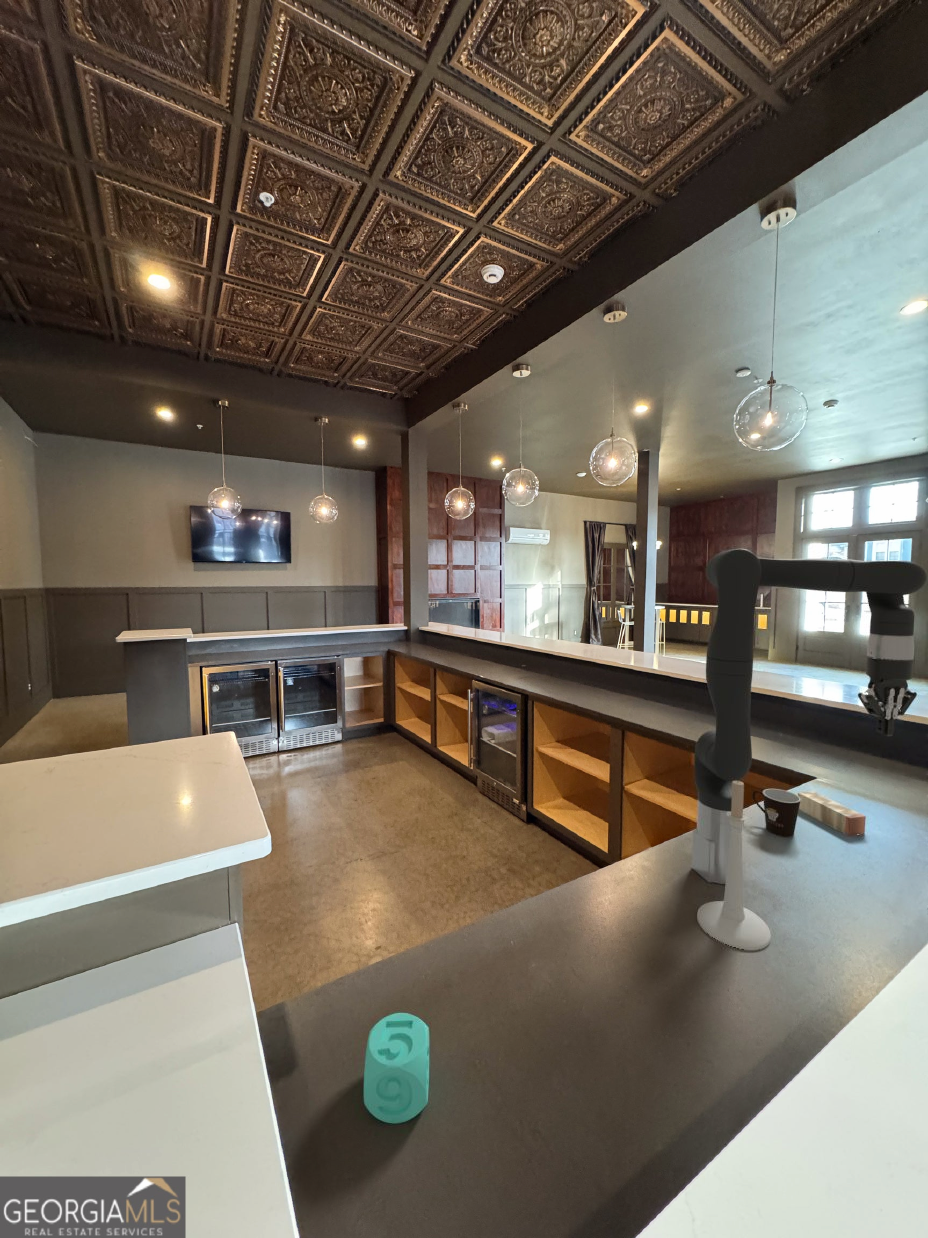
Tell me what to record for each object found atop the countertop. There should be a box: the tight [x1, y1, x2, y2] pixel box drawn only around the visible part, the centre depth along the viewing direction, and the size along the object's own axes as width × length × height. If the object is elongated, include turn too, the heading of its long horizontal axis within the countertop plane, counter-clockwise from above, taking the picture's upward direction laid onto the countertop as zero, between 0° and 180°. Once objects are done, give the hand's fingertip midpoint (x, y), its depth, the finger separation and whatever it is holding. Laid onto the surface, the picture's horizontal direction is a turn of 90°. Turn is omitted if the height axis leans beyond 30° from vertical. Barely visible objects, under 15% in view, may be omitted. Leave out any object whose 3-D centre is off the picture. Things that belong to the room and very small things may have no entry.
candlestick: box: [696, 780, 772, 951], centre depth 96 cm, size 13×13×30 cm
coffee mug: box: [752, 788, 801, 838], centre depth 134 cm, size 12×9×10 cm
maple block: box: [797, 790, 867, 837], centre depth 138 cm, size 5×5×16 cm
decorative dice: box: [363, 1012, 430, 1124], centre depth 66 cm, size 8×8×8 cm
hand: (884, 734), depth 105 cm, fingers closed
